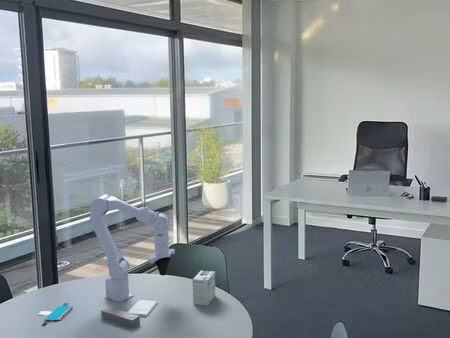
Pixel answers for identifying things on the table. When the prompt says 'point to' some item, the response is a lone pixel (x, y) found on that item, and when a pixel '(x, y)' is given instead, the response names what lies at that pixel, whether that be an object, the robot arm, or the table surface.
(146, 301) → the external hard drive
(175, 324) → the table surface
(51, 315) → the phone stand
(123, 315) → the charging dock
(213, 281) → the light bulb box
